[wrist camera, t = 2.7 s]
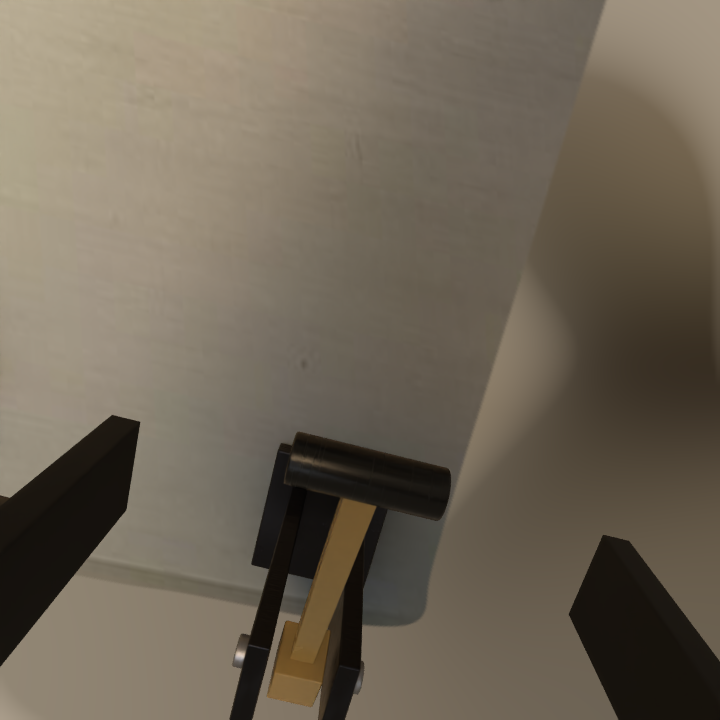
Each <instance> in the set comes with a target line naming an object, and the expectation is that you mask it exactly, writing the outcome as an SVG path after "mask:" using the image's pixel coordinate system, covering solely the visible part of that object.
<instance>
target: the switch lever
mask: <svg viewBox="0 0 720 720" xmlns="http://www.w3.org/2000/svg"><path fill="white" fill-rule="evenodd" d="M284 484H286V485H290V486H294V487H298V488H302V489H306V490H311V491H315V492H319V493H323V494H327V495H331V496H335V497H339V498H340V500H339V503H338V506H337V509H336V512H335V515H334V518H333V521H332V524H331V527H330V530H329V533H328V536H327V539H326V542H325V545H324V548H323V552H322V555H321V558H320V561H319V564H318V567H317V570H316V573H315V576H314V579H313V582H312V585H311V588H310V591H309V594H308V597H307V600H306V603H305V606H304V609H303V612H302V615H301V619H300V622H299V623H295V622H291V621H286V622H285V625H284V628H283V632H282V636H281V639H280V642H279V645H278V649H277V654H276V658H275V662H274V667H273V671H272V675H271V680H270V684H269V688H268V693H267V697H268V698H273V699H278V700H281V701H286V702H291V703H295V704H300V705H304V706H308V707H312V706H313V704H314V701H315V699H316V697H317V694H318V692H319V690H320V688H321V686H322V683H323V678H324V672H325V666H326V659H327V653H328V647H329V641H330V634H331V631H330V630H327V629H328V627H329V624H330V622H331V619H332V617H333V614H334V612H335V609H336V607H337V604H338V602H339V599H340V597H341V594H342V592H343V589H344V587H345V584H346V582H347V579H348V577H349V574H350V572H351V569H352V567H353V564H354V562H355V559H356V557H357V554H358V552H359V549H360V547H361V544H362V542H363V539H364V537H365V534H366V532H367V529H368V527H369V524H370V522H371V519H372V517H373V514H374V512H375V509H376V507H381V508H385V509H389V510H393V511H397V512H401V513H406V514H410V515H414V516H418V517H422V518H426V519H430V520H434V521H438V520H440V519H441V517H442V516H443V514H444V512H445V509H446V506H447V503H448V499H449V495H450V488H451V474H450V470H449V469H448V468H445V467H441V466H437V465H433V464H429V463H425V462H421V461H416V460H412V459H408V458H404V457H400V456H396V455H392V454H388V453H384V452H380V451H376V450H372V449H368V448H364V447H360V446H356V445H352V444H348V443H344V442H339V441H335V440H331V439H327V438H323V437H319V436H315V435H311V434H307V433H303V432H297V433H296V435H295V438H294V442H293V445H292V449H291V452H290V456H289V460H288V464H287V468H286V472H285V477H284Z"/></svg>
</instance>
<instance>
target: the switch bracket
mask: <svg viewBox="0 0 720 720" xmlns="http://www.w3.org/2000/svg"><path fill="white" fill-rule="evenodd" d="M291 449H292V446H291V445H286V444H282V443H281V444H280V447H279V449H278V452H277V457H276V461H275V465H274V469H273V474H272V478H271V482H270V486H269V490H268V495H267V499H266V503H265V507H264V512H263V516H262V520H261V524H260V529H259V533H258V537H257V541H256V546H255V550H254V554H253V558H252V563H251V564H252V565H254V566H258V567H263V568H267V569H269V572H268V575H267V579H266V582H265V586H264V589H263V593H262V596H261V600H260V603H259V607H258V610H257V614H256V617H255V621H254V624H253V628H252V631H251V635H246V634H241V635H240V638H239V641H238V644H237V648H236V652H235V655H234V659H233V664H232V666H233V667H237V668H242V670H241V674H240V678H239V682H238V686H237V690H236V694H235V698H234V702H233V706H232V711H231V715H230V720H252V718H253V715H254V711H255V707H256V703H257V700H258V695H259V692H260V688H261V684H262V680H263V676H264V673H265V669H266V665H267V661H268V657H269V653H270V650H271V645H272V641H273V636H274V632H275V628H276V624H277V619H278V615H279V611H280V606H281V602H282V598H283V593H284V589H285V585H286V581H287V576H288V574H293V575H297V576H301V577H305V578H310V579H314V576H315V573H316V570H317V567H318V564H319V561H320V558H321V555H322V552H323V548H324V545H325V542H326V539H327V536H328V533H329V530H330V527H331V524H332V521H333V518H334V515H335V512H336V509H337V506H338V503H339V500H340V498H339V497H335V496H331V495H327V494H323V493H319V492H315V491H311V490H306V489H302V488H298V487H294V486H290V485H286V484H284V477H285V472H286V468H287V464H288V460H289V456H290V452H291ZM387 510H388V509H385V508H381V507H376V509H375V512H374V514H373V517H372V519H371V522H370V524H369V527H368V529H367V532H366V534H365V537H364V539H363V542H362V544H361V547H360V549H359V552H358V554H357V557H356V559H355V562H354V564H353V567H352V569H351V572H350V574H349V577H348V579H347V582H346V584H345V587H344V589H343V592H342V594H341V597H340V599H339V602H338V604H337V607H336V609H335V612H334V614H333V617H332V619H331V622H330V624H329V627H328V630H330V631H331V634H330V641H329V647H328V653H327V659H326V666H325V672H324V678H323V683H322V689H321V698H320V707H319V717H318V720H345V718H346V714H347V711H348V708H349V705H350V702H351V699H352V696H353V694H358V693H359V692H360V689H361V685H362V681H363V675H364V662H363V661H361V645H362V612H363V588H364V585H365V582H366V578H367V575H368V572H369V569H370V565H371V562H372V559H373V555H374V552H375V549H376V546H377V542H378V539H379V536H380V533H381V529H382V526H383V523H384V520H385V516H386V513H387Z"/></svg>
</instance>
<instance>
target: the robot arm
mask: <svg viewBox="0 0 720 720" xmlns="http://www.w3.org/2000/svg"><path fill="white" fill-rule="evenodd" d="M139 427H140V422H139V421H135V420H131V419H127V418H122V417H118V416H114V415H112V416H110V417H109V418H108V419H107V420H105V421H104V422H103V423H102V424H100V425H99V426H98V427H97V428H96V429H94V430H93V431H92V432H91V433H89V434H88V435H87V436H86V437H84V438H83V439H82V440H81V441H80V442H78V443H77V444H76V445H75V446H73V447H72V448H71V449H70V450H69V451H67V452H66V453H65V454H64V455H62V456H61V457H60V458H59V459H57V460H56V461H55V462H54V463H53V464H51V465H50V466H49V467H48V468H46V469H45V470H44V471H43V472H41V473H40V474H39V475H38V476H37V477H35V478H34V479H33V480H32V481H30V482H29V483H28V484H27V485H26V486H24V487H23V488H22V489H21V490H19V491H18V492H17V493H16V494H14V495H13V496H12V497H11V498H8V497H4V496H0V666H1V665H2V664H3V662H4V661H5V660H6V659H7V658H8V656H9V655H10V654H11V653H12V652H13V650H14V649H15V648H16V647H17V645H18V644H19V643H20V642H21V640H22V639H23V638H24V637H25V635H26V634H27V633H28V632H29V630H30V629H31V628H32V627H33V625H34V624H35V623H36V622H37V620H38V619H39V618H40V617H41V615H42V614H43V613H44V612H45V610H46V609H47V608H48V607H49V605H50V604H51V603H52V602H53V601H54V599H55V598H56V597H57V595H58V594H59V593H60V592H61V591H62V589H63V588H64V587H65V585H66V584H67V583H68V582H69V581H70V579H71V578H72V577H73V576H74V574H75V573H76V572H77V571H78V569H79V568H80V567H81V566H82V564H83V563H84V562H85V561H86V559H87V558H88V557H89V556H90V554H91V553H92V552H93V551H94V549H95V548H96V547H97V546H98V545H99V543H100V542H101V541H102V540H103V538H104V537H105V536H106V535H107V533H108V532H109V531H110V530H111V528H112V527H113V526H114V525H115V523H116V522H117V521H118V520H119V518H120V517H121V516H122V515H123V513H124V512H125V511H126V509H127V503H128V496H129V490H130V484H131V477H132V471H133V465H134V458H135V452H136V446H137V439H138V433H139ZM569 616H570V618H571V620H572V622H573V624H574V626H575V629H576V631H577V633H578V635H579V637H580V639H581V641H582V643H583V646H584V648H585V650H586V651H587V654H588V656H589V658H590V660H591V662H592V664H593V667H594V669H595V671H596V673H597V675H598V677H599V679H600V681H601V684H602V686H603V687H604V690H605V692H606V694H607V696H608V698H609V701H610V702H611V704H612V707H613V709H614V711H615V713H616V715H617V717H618V720H720V661H719V660H718V658H717V657H716V656H715V654H714V653H713V652H712V650H711V649H710V648H709V646H708V645H707V644H706V642H705V641H704V640H703V639H702V637H701V636H700V634H699V633H698V632H697V631H696V629H695V628H694V627H693V625H692V624H691V623H690V621H689V620H688V619H687V617H686V616H685V615H684V613H683V612H682V611H681V609H680V608H679V607H678V605H677V604H676V603H675V601H674V600H673V599H672V597H671V596H670V595H669V593H668V592H667V591H666V589H665V588H664V587H663V585H662V584H661V583H660V581H659V580H658V579H657V577H656V576H655V575H654V574H653V572H652V571H651V569H650V568H649V567H648V566H647V564H646V563H645V562H644V560H643V559H642V558H641V556H640V555H639V554H638V552H637V551H636V550H635V548H634V547H633V546H632V544H631V543H630V542H629V541H627V540H623V539H619V538H615V537H610V536H606V535H603V536H602V539H601V541H600V543H599V546H598V548H597V550H596V553H595V555H594V557H593V559H592V562H591V564H590V566H589V569H588V571H587V574H586V576H585V578H584V580H583V582H582V585H581V587H580V589H579V592H578V594H577V596H576V599H575V601H574V603H573V606H572V608H571V610H570V613H569Z"/></svg>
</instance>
